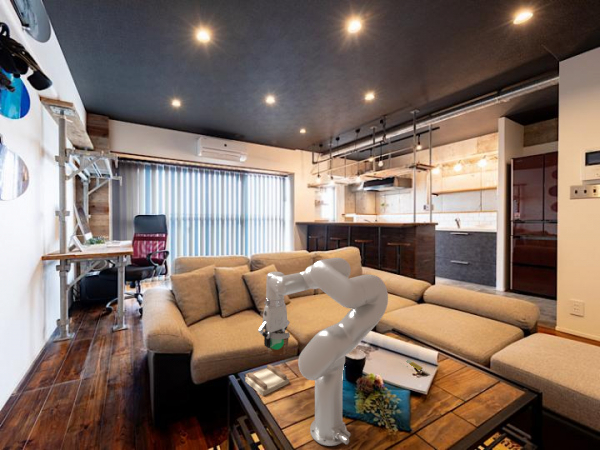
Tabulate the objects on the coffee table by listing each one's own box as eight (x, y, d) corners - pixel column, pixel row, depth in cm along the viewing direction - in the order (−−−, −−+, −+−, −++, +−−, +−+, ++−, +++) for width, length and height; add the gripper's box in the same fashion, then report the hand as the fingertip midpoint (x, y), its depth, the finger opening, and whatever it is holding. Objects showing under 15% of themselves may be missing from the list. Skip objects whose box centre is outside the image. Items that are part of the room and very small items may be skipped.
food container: (258, 351, 118) (259, 328, 118) (269, 346, 123) (269, 323, 122) (278, 361, 110) (279, 337, 110) (289, 356, 115) (289, 332, 114)
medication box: (400, 365, 139) (399, 357, 139) (404, 363, 140) (403, 356, 140) (419, 377, 128) (418, 368, 128) (423, 375, 129) (422, 366, 129)
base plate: (289, 383, 123) (289, 375, 123) (262, 396, 114) (262, 387, 114) (270, 370, 134) (270, 363, 134) (245, 381, 124) (245, 373, 124)
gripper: (263, 308, 107) (262, 354, 108) (296, 300, 119) (295, 341, 119) (252, 303, 113) (251, 347, 113) (285, 296, 124) (284, 335, 125)
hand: (274, 343), depth 116 cm, fingers closed on food container, 6 cm apart
